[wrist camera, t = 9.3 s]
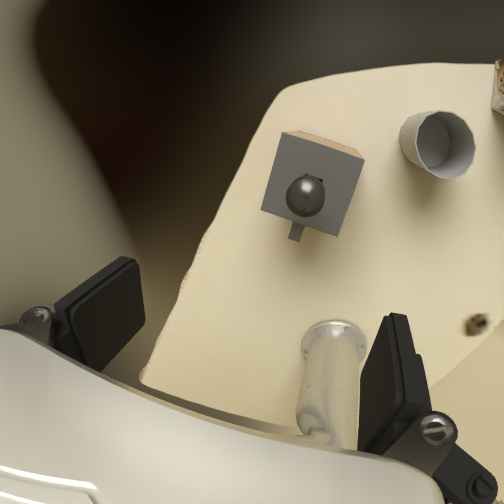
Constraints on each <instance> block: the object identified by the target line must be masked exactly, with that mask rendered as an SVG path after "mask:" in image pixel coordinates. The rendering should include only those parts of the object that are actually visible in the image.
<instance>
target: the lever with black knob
mask: <svg viewBox="0 0 504 504" xmlns="http://www.w3.org/2000/svg"><path fill="white" fill-rule="evenodd" d="M322 181H323V179H320V178H317V177H314V176H311V175H308V174H305V175H303V176H300V177H298V178H296V179H295V180H294V181H293V183H292V184H291V185H290V186H289V188H288V189H287V192H286V204H287V206H288V208H289V209H290V210H291V212H293V213H294V214H295V215H297V216H300V217H312V216H314V215H316V214H317V213H319V212H320V210H321V209H322V207H323V205H324V201H325V195H326V191H325V187H324V185H323V183H322Z"/></svg>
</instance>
